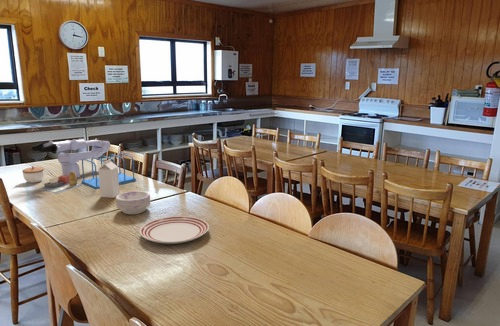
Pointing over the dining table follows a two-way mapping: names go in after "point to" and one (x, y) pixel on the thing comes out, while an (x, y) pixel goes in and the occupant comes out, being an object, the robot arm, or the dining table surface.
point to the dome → (53, 181)
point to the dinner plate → (174, 229)
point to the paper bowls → (133, 202)
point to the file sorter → (95, 181)
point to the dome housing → (53, 184)
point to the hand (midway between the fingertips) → (37, 149)
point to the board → (60, 188)
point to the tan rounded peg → (72, 178)
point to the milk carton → (108, 179)
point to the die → (64, 179)
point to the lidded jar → (33, 174)
